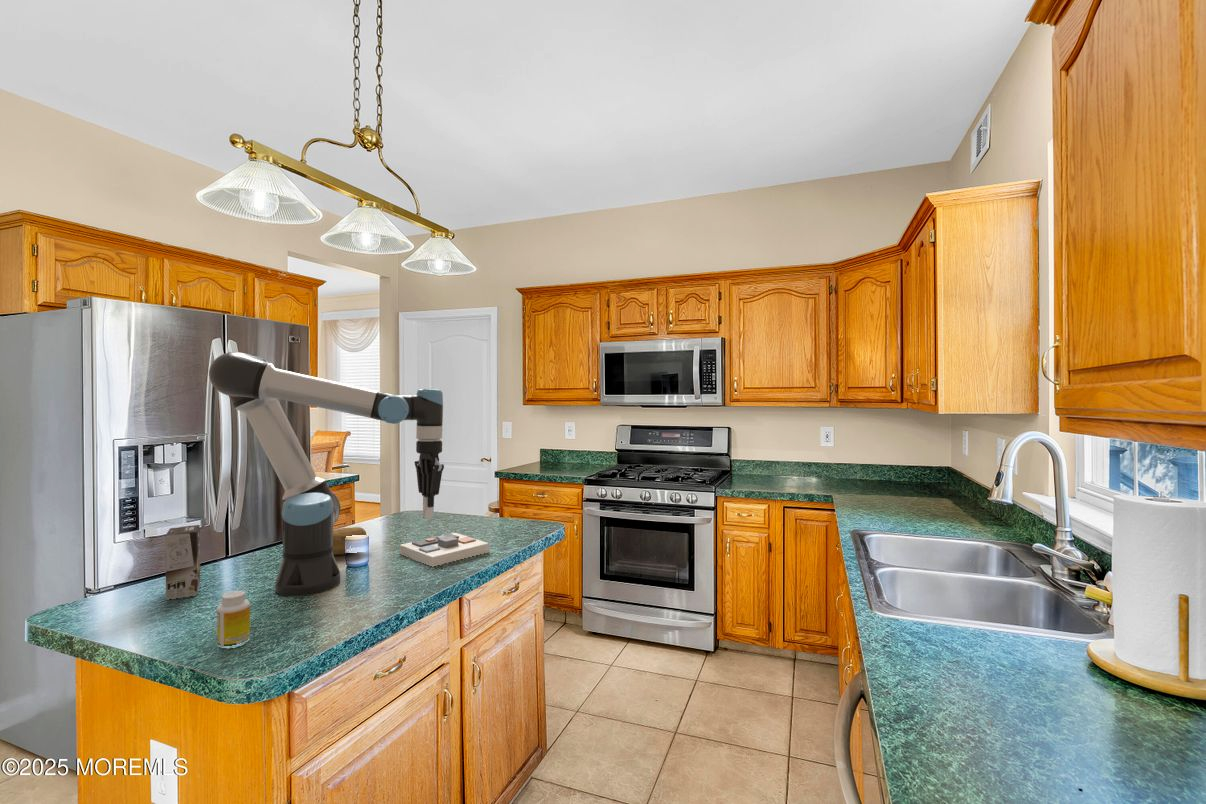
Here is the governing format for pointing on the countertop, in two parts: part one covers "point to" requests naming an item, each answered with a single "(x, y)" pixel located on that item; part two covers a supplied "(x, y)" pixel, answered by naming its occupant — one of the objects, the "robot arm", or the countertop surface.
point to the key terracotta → (466, 540)
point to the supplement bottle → (233, 619)
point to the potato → (340, 537)
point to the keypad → (443, 550)
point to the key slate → (429, 549)
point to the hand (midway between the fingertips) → (428, 517)
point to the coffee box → (182, 562)
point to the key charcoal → (448, 542)
